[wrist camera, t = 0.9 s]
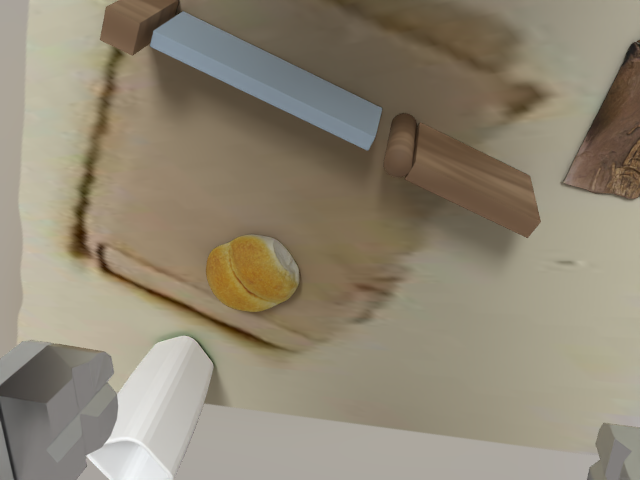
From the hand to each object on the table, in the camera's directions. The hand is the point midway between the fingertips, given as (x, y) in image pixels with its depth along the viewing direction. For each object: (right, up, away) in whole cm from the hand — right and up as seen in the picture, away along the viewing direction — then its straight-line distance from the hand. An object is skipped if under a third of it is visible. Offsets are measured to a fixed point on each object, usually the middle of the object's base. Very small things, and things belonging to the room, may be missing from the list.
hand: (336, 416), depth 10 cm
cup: (-15, -10, +58) cm, 61 cm away
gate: (-3, +16, +36) cm, 40 cm away
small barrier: (+1, +14, +37) cm, 40 cm away
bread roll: (-7, +1, +49) cm, 49 cm away
